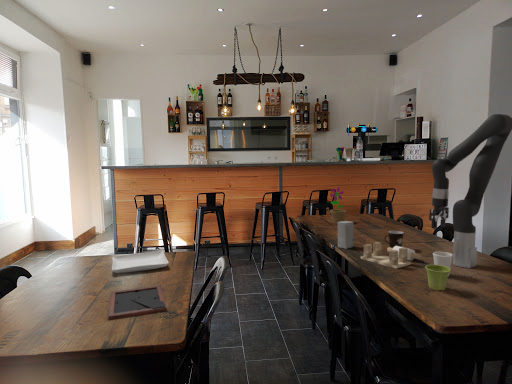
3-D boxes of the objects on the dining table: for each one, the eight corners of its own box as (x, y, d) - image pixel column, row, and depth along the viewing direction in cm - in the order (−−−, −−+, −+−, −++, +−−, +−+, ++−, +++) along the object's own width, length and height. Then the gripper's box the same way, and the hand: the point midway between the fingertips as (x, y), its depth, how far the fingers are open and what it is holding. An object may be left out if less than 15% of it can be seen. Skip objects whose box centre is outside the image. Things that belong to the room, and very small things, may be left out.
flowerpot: (343, 220, 310) (344, 186, 307) (349, 223, 295) (349, 187, 293) (327, 221, 309) (327, 186, 306) (332, 224, 294) (332, 188, 292)
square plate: (163, 256, 206) (162, 249, 206) (169, 270, 181) (169, 262, 180) (112, 262, 196) (112, 255, 196) (112, 277, 171) (111, 269, 171)
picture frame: (167, 312, 131) (160, 289, 155) (166, 306, 131) (160, 284, 155) (108, 321, 125) (111, 295, 148) (108, 315, 124) (110, 291, 148)
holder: (410, 264, 182) (411, 249, 181) (396, 268, 176) (396, 252, 175) (375, 255, 200) (375, 241, 200) (360, 258, 194) (360, 244, 193)
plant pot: (452, 287, 149) (453, 267, 149) (446, 294, 142) (447, 273, 142) (428, 282, 156) (429, 263, 155) (421, 288, 149) (422, 268, 148)
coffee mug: (400, 247, 218) (401, 230, 217) (405, 250, 209) (405, 233, 208) (381, 246, 219) (381, 230, 218) (384, 250, 210) (385, 233, 209)
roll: (423, 261, 187) (423, 250, 187) (416, 263, 184) (416, 252, 183) (391, 253, 203) (391, 243, 202) (385, 255, 200) (385, 244, 199)
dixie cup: (452, 279, 160) (453, 257, 159) (431, 276, 164) (432, 254, 163) (452, 273, 167) (453, 252, 166) (432, 271, 171) (433, 250, 170)
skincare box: (346, 249, 214) (346, 223, 213) (336, 247, 220) (336, 221, 218) (354, 246, 219) (354, 221, 218) (344, 244, 225) (345, 220, 223)
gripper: (439, 199, 180) (437, 230, 182) (454, 197, 188) (452, 227, 190) (425, 197, 186) (423, 227, 188) (440, 195, 194) (438, 224, 196)
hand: (438, 227), depth 189 cm, fingers open, 8 cm apart
